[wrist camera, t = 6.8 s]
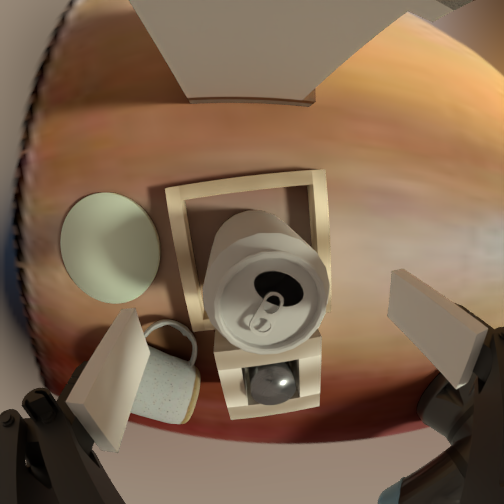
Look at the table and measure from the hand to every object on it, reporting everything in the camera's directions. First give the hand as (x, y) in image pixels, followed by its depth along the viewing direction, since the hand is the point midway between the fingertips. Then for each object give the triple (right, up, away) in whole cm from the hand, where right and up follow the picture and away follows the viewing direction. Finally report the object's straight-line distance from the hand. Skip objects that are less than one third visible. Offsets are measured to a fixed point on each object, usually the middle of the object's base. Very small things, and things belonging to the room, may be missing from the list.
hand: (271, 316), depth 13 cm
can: (-1, +3, +13) cm, 13 cm away
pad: (-15, +3, +12) cm, 19 cm away
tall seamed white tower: (-1, +22, +8) cm, 23 cm away
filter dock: (0, -1, +14) cm, 14 cm away
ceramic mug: (-11, -8, +16) cm, 21 cm away
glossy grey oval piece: (+1, -8, +14) cm, 16 cm away
